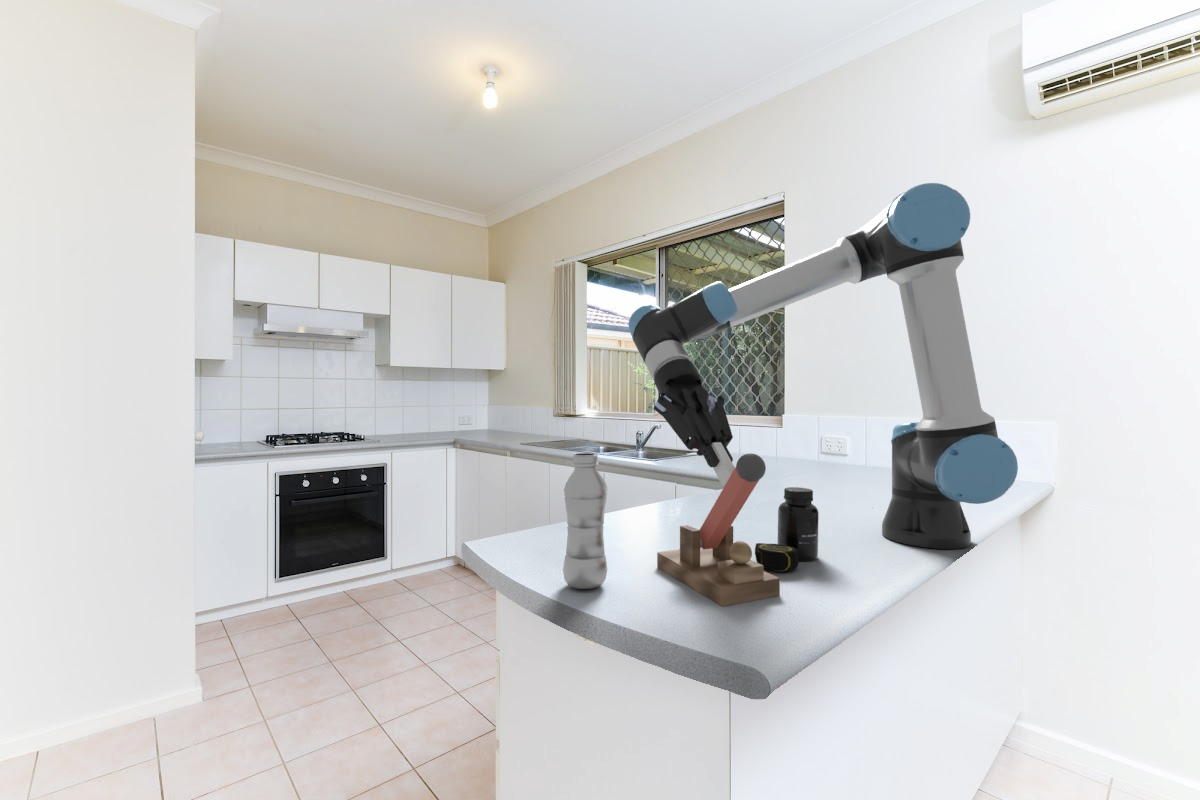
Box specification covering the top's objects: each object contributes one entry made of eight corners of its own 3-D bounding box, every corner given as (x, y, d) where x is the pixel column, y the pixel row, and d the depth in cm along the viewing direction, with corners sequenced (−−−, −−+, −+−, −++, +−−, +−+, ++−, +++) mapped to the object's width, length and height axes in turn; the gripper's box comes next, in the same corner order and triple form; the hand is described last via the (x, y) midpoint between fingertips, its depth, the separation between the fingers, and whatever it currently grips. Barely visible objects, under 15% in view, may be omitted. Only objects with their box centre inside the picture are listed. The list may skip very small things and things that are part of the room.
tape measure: (796, 564, 92) (796, 542, 92) (800, 577, 86) (800, 554, 86) (754, 561, 94) (754, 539, 94) (755, 573, 88) (755, 550, 88)
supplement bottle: (811, 564, 92) (812, 494, 91) (771, 557, 96) (772, 489, 96) (823, 555, 97) (823, 488, 97) (784, 548, 101) (785, 484, 101)
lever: (688, 536, 87) (737, 448, 75) (709, 533, 89) (760, 446, 77) (699, 557, 84) (752, 469, 72) (720, 553, 86) (776, 467, 74)
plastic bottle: (558, 581, 84) (558, 452, 83) (600, 577, 86) (599, 451, 85) (569, 596, 77) (568, 457, 77) (613, 591, 80) (613, 455, 79)
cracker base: (657, 567, 90) (657, 519, 90) (707, 559, 94) (707, 514, 94) (722, 606, 74) (722, 548, 74) (779, 595, 78) (779, 540, 78)
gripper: (696, 387, 100) (755, 493, 85) (633, 387, 95) (683, 500, 80) (713, 357, 95) (778, 464, 80) (647, 355, 90) (704, 469, 75)
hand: (731, 481), depth 80 cm, fingers closed
